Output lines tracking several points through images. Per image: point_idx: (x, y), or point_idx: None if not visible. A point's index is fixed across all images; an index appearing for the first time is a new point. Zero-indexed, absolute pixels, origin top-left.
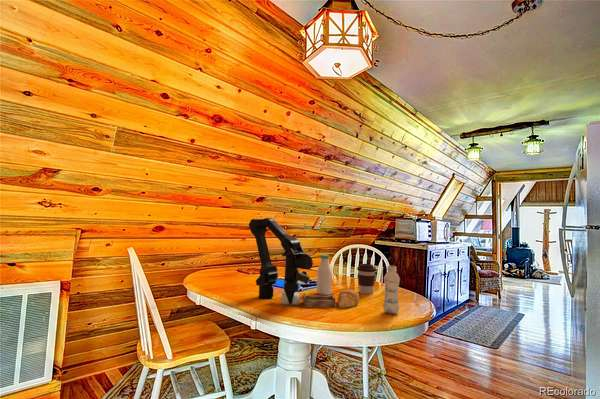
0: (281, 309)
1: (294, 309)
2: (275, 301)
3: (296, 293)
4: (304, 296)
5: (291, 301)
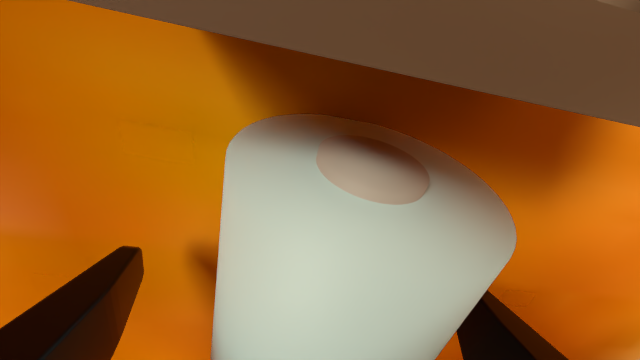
0: None
1: (559, 228)
2: (173, 355)
3: (365, 346)
4: (600, 89)
5: (510, 322)
